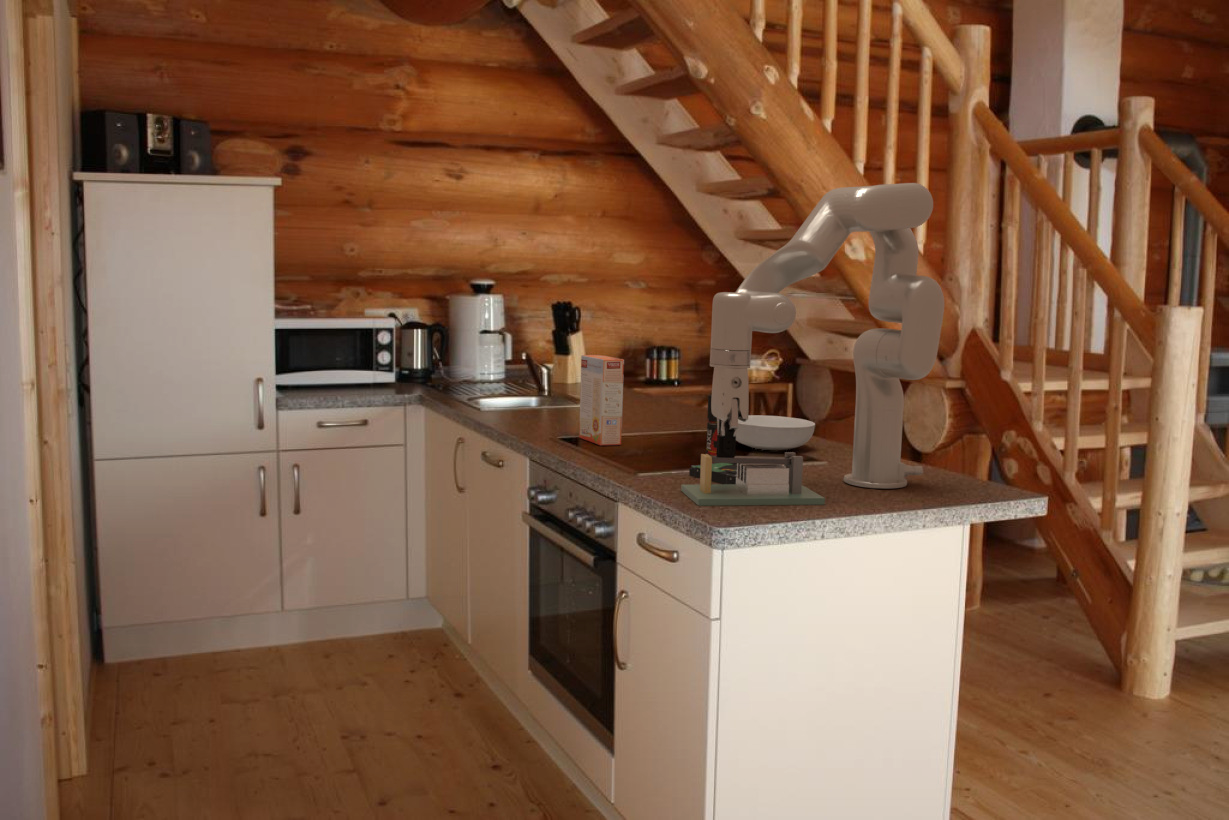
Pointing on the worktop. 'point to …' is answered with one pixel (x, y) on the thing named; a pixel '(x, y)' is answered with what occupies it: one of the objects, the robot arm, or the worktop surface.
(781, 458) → the strap
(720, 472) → the disk drive
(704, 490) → the board
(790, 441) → the serving bowl
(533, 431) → the worktop surface
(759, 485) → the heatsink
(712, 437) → the deodorant
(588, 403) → the cracker box
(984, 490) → the worktop surface
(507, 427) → the worktop surface
